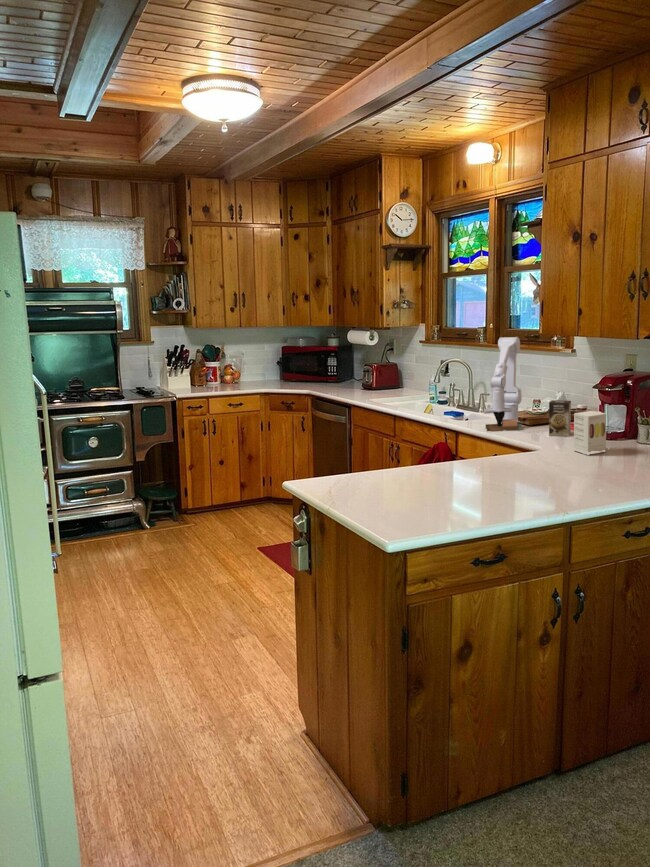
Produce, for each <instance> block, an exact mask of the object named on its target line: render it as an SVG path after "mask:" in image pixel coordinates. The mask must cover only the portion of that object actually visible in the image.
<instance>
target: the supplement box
mask: <svg viewBox="0 0 650 867" xmlns="http://www.w3.org/2000/svg"><path fill="white" fill-rule="evenodd" d="M573 416H574V417H573V418H574V419H573V426H574V427H573V449H574V448H576V449H579V450H583V451H587V452H591V451H602V450H607V413H606V412H600V411H595V410H589V411H581V412H575V413H574V414H573Z"/></svg>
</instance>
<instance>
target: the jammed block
mask: <svg viewBox="0 0 650 867" xmlns="http://www.w3.org/2000/svg"><path fill="white" fill-rule="evenodd" d="M501 424H502V426H517V419H505V420H502V423H501Z"/></svg>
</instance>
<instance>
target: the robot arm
mask: <svg viewBox="0 0 650 867" xmlns="http://www.w3.org/2000/svg"><path fill="white" fill-rule="evenodd" d="M497 346H498V347H497V348H498V349H499V352H500V353H499V359H498V360H499V361H498V363H496V365H495V369H494V372H493V375H492V377H491V378H490V387H491V388H490V390H491V392H492V408H484V409H483V414H485V415H486V414H493V416H494V418H495V420H496V424H498V427H501V424H502V420H505V419H517V422H520V423H521V420H520V421H518V419H519V404H520V403H521V402H522V398H523V396H522V390H521V388H519V387H518V386H517V385H516V382H517V380H516V378H517V377H516V376H517V355H518V354H519V353H520V351H521V340H520V338H519V336H515V337H514V336H512V337H511V336H510V337H502V336H501V337H499V339H498V341H497Z"/></svg>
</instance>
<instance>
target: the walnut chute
mask: <svg viewBox="0 0 650 867" xmlns="http://www.w3.org/2000/svg"><path fill="white" fill-rule="evenodd" d="M485 430H486V432H487V431H491V432H504V431H503V430H506V431H505V432H507V431H522V430H523V425H522V424H521V421H520V422H517V426H502V423H501V427H498V424H497V423H490V424H489V423H486V424H485Z"/></svg>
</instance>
